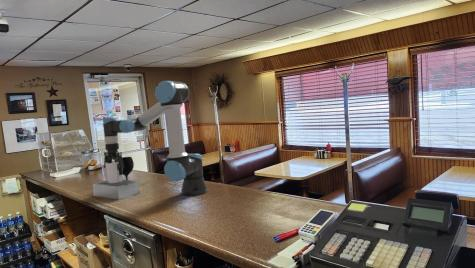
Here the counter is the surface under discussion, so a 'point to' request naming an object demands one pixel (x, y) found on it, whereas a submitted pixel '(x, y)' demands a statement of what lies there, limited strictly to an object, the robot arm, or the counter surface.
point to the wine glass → (127, 166)
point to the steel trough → (116, 189)
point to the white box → (112, 172)
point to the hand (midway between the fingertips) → (115, 179)
